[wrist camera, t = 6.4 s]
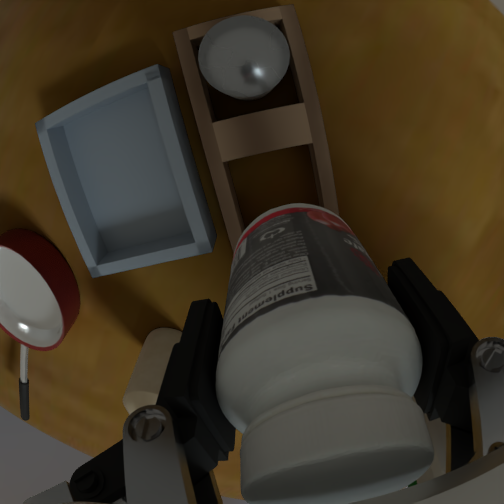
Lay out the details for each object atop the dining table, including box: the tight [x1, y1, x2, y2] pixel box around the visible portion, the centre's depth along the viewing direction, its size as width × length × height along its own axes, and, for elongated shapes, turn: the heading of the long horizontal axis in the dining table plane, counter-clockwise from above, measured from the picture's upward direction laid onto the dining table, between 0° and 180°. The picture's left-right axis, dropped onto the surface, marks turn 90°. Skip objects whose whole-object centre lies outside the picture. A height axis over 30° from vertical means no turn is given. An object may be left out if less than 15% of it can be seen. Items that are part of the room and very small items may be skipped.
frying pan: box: [0, 229, 80, 421], centre depth 29 cm, size 32×13×6 cm, turn 159°
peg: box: [198, 15, 290, 101], centre depth 16 cm, size 4×4×8 cm
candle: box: [123, 328, 182, 414], centre depth 27 cm, size 6×6×10 cm
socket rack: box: [173, 4, 339, 253], centre depth 23 cm, size 8×26×2 cm, turn 13°
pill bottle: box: [215, 203, 434, 504], centre depth 9 cm, size 5×5×10 cm
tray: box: [35, 64, 217, 278], centre depth 22 cm, size 11×14×3 cm
